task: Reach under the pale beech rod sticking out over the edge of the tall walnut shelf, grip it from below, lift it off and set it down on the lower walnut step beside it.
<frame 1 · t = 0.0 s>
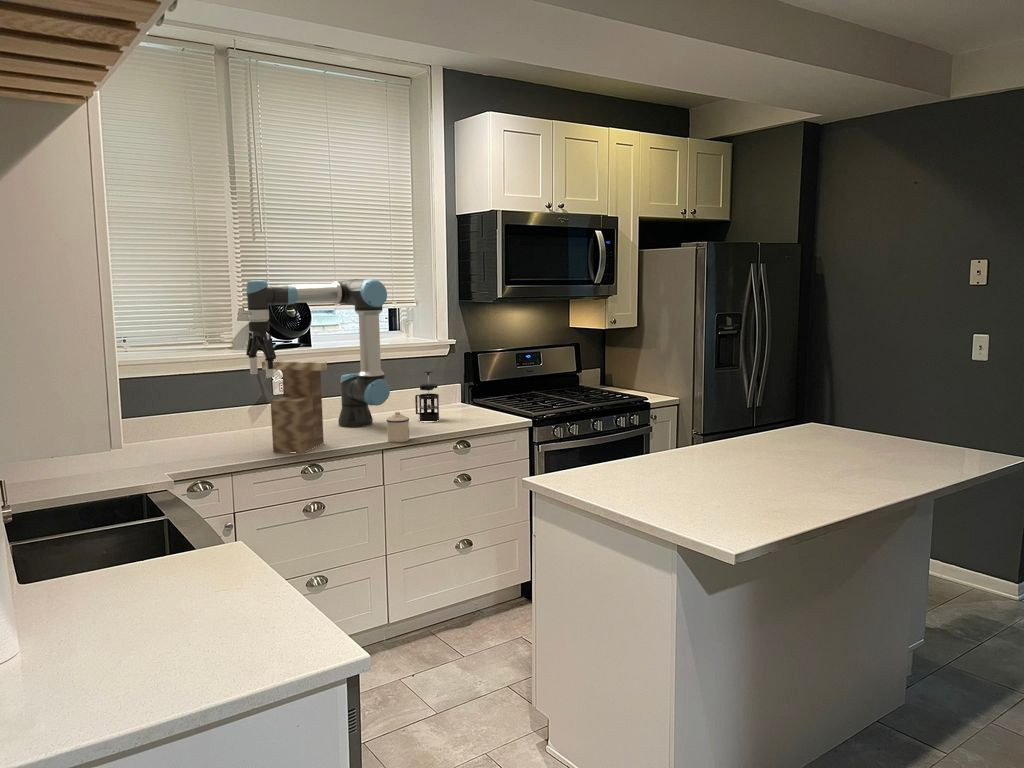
hand: (262, 375, 290), 28 cm above the table, tool pointing down, fingers open, 13 cm apart
french press: (428, 421, 344), on the table
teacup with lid: (396, 440, 305), on the table
walnut shelf: (305, 444, 296), on the table
beech rod: (294, 369, 293), point 30 cm above the table, touching walnut shelf
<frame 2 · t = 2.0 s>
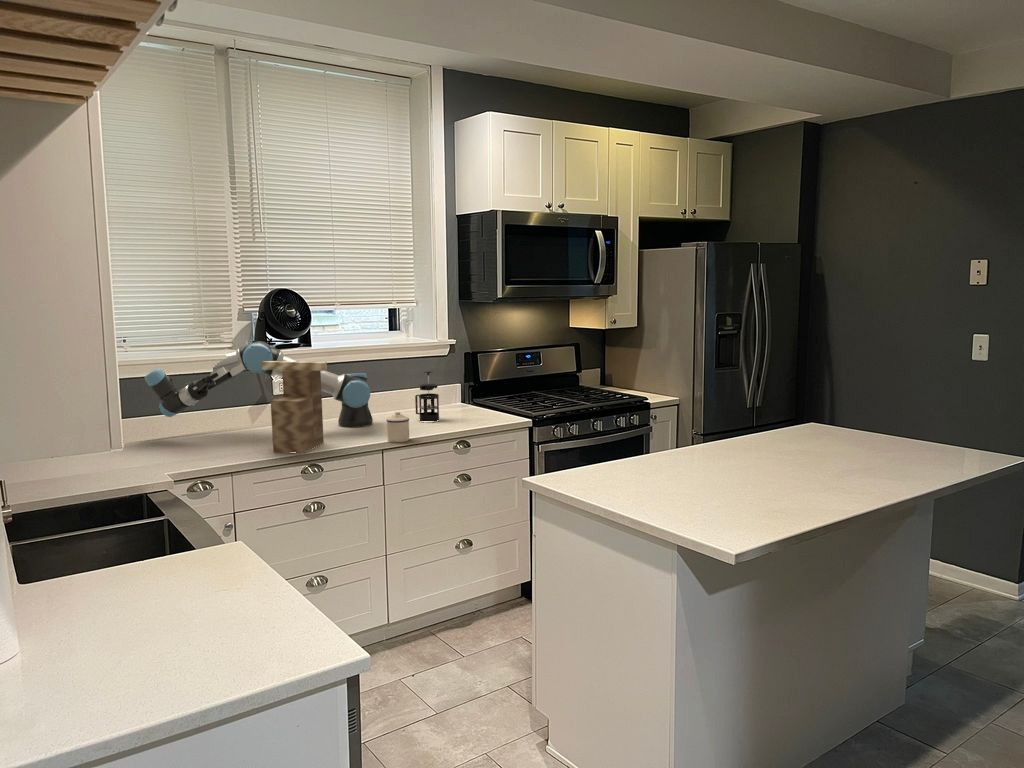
hand: (234, 367, 297), 30 cm above the table, tool pointing upward, fingers open, 13 cm apart
nothing on the table moved.
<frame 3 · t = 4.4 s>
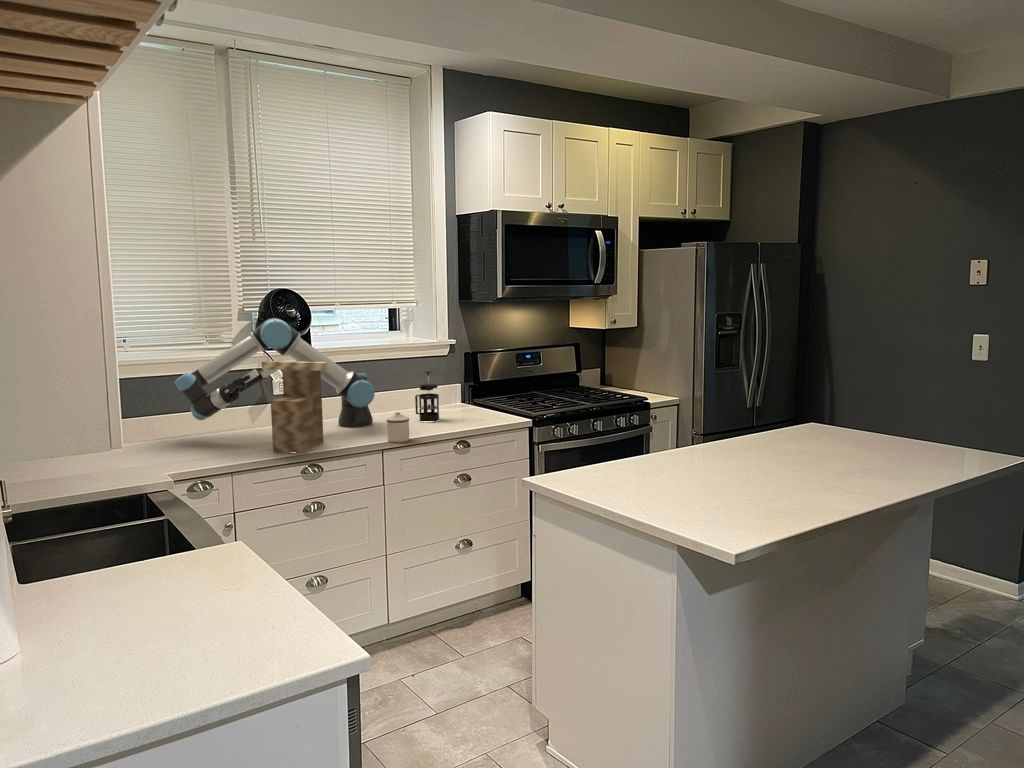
hand: (265, 369, 295), 30 cm above the table, tool pointing upward, fingers open, 13 cm apart
nothing on the table moved.
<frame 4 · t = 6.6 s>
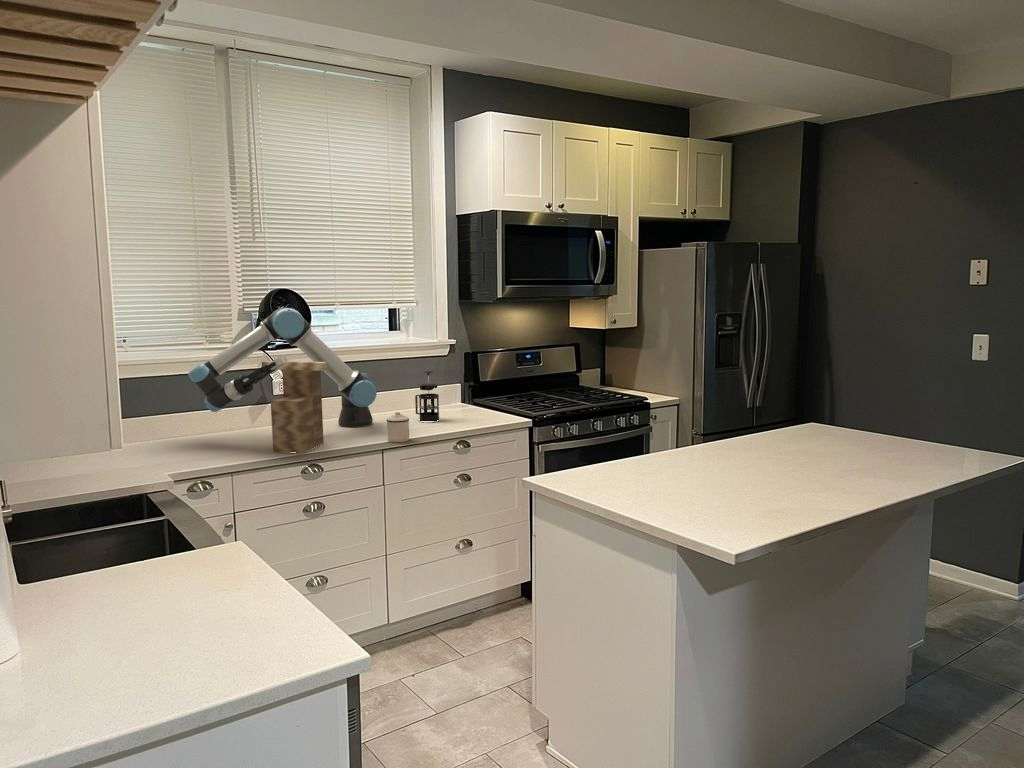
hand: (284, 358, 293), 34 cm above the table, tool pointing upward, fingers closed on beech rod, 3 cm apart
beech rod: (294, 369, 293), point 30 cm above the table, touching gripper, walnut shelf
everything else where it was.
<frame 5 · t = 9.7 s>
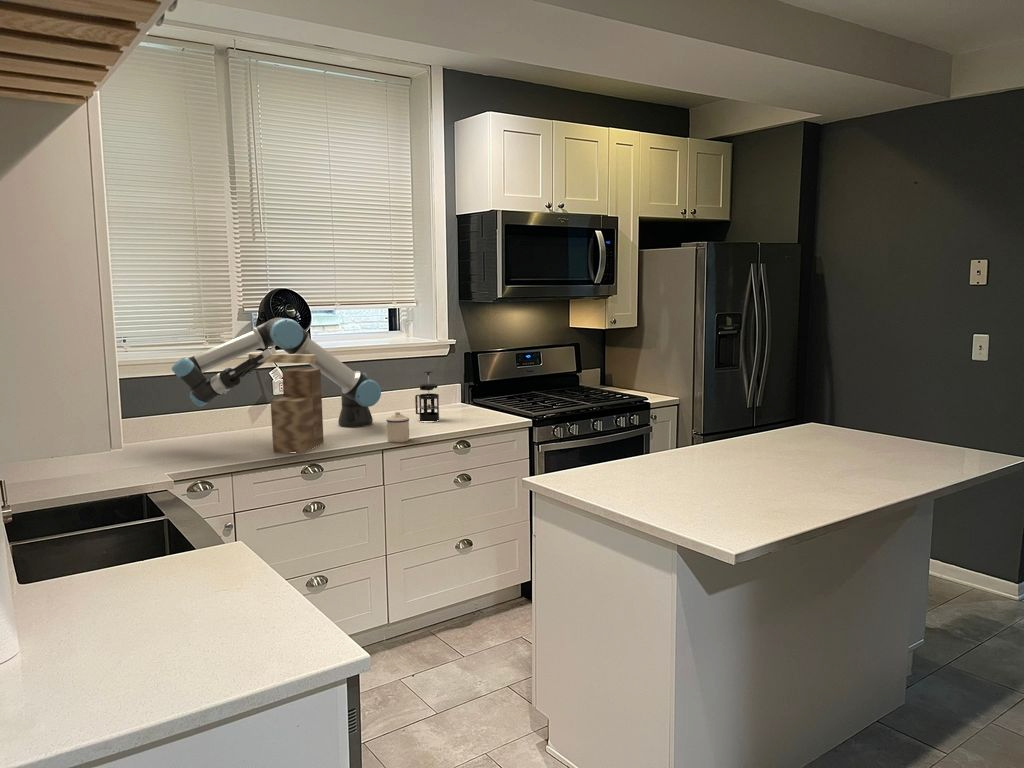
hand: (272, 351, 283), 38 cm above the table, tool pointing upward, fingers closed on beech rod, 3 cm apart
beech rod: (282, 362, 283), point 34 cm above the table, touching gripper
everything else where it was.
when the fingers open (26 cm above the table, at t = 12.7 s): beech rod drops 1 cm, resting on walnut shelf.
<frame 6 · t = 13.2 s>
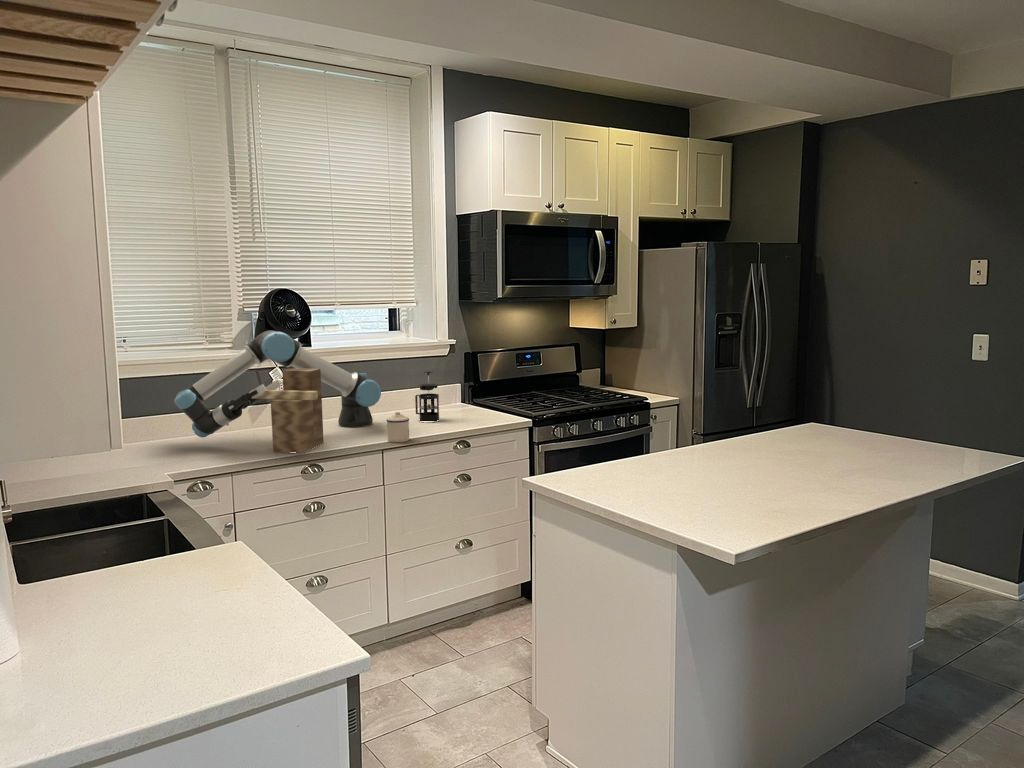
hand: (272, 385, 286), 25 cm above the table, tool pointing upward, fingers open, 10 cm apart
beech rod: (284, 398, 285), point 20 cm above the table, touching walnut shelf
everything else where it was.
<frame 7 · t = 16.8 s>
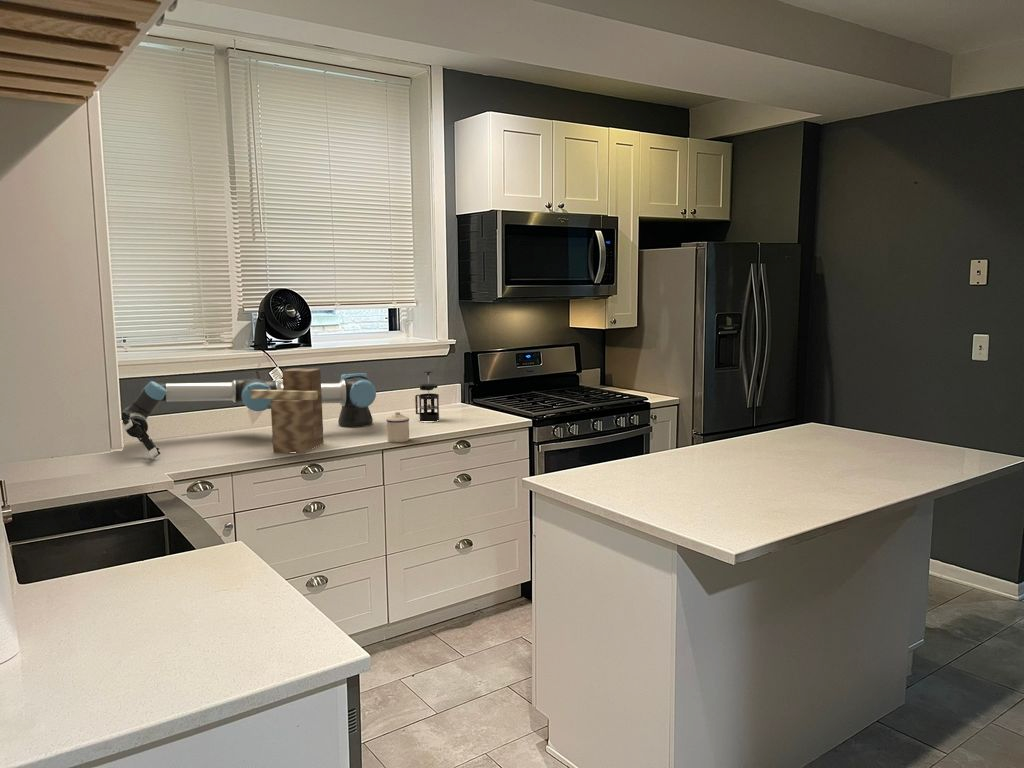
hand: (141, 441, 264), 9 cm above the table, tool horizontal, fingers open, 13 cm apart
nothing on the table moved.
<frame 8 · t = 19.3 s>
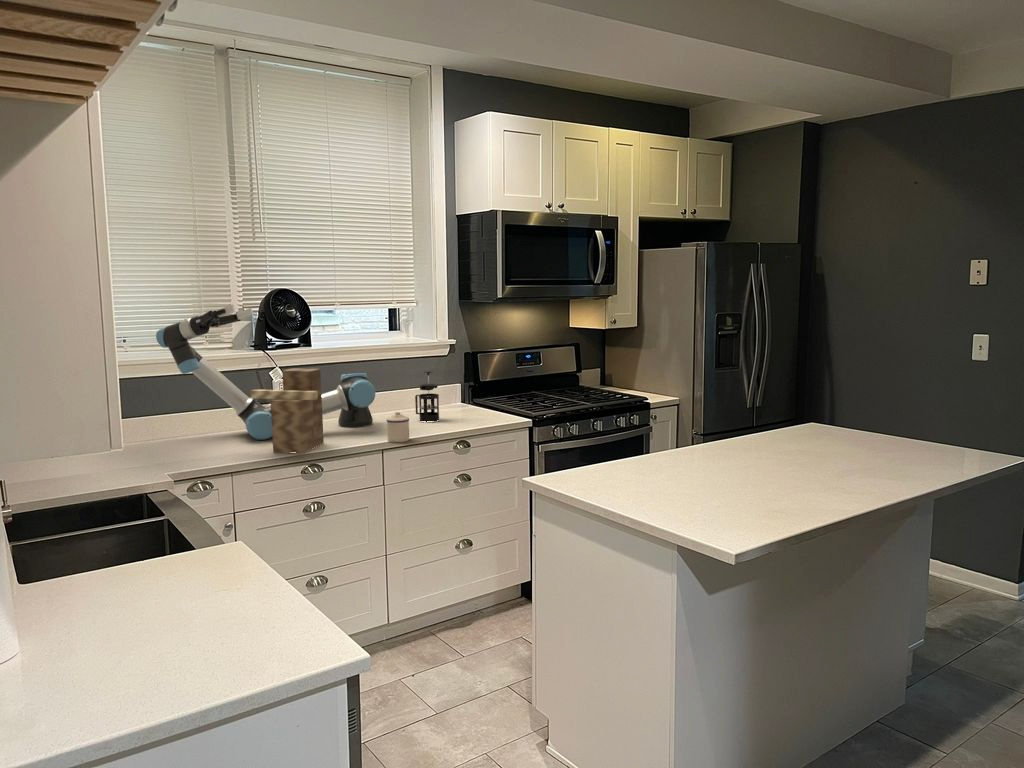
hand: (243, 309, 287), 54 cm above the table, tool pointing upward, fingers open, 13 cm apart
nothing on the table moved.
at the end: beech rod inside the target area (0.2 cm from its centre), point 20.0 cm above the table; the gripper is holding nothing; beech rod touching walnut shelf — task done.
